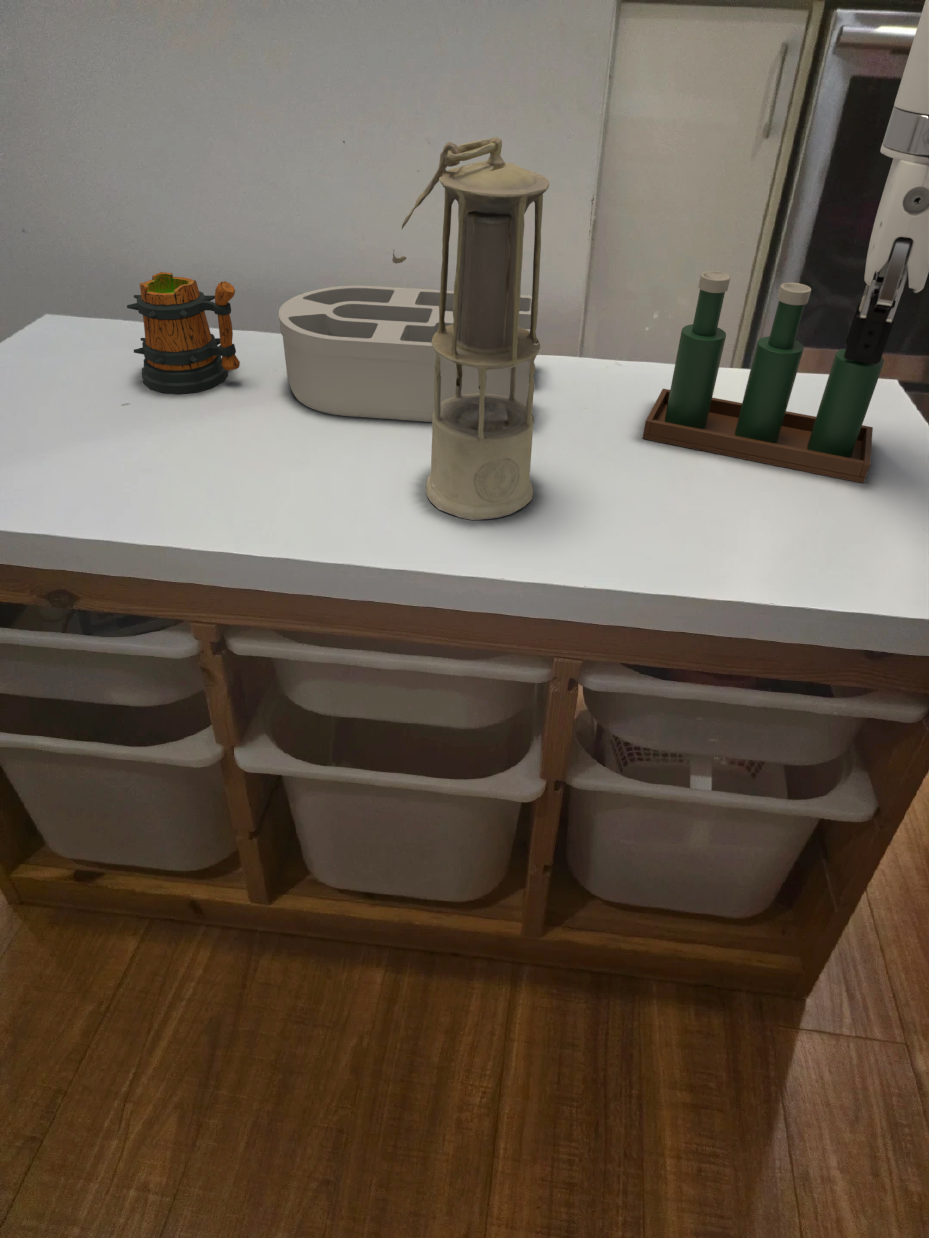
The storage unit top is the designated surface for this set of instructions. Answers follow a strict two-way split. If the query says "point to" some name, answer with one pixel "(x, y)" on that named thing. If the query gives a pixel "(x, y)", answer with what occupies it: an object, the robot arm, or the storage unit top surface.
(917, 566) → the storage unit top surface
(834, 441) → the bottle
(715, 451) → the tray
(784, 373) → the bottle mid
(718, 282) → the bottle end
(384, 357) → the grey compartment organizer
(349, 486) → the storage unit top surface
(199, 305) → the mug
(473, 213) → the lamp
